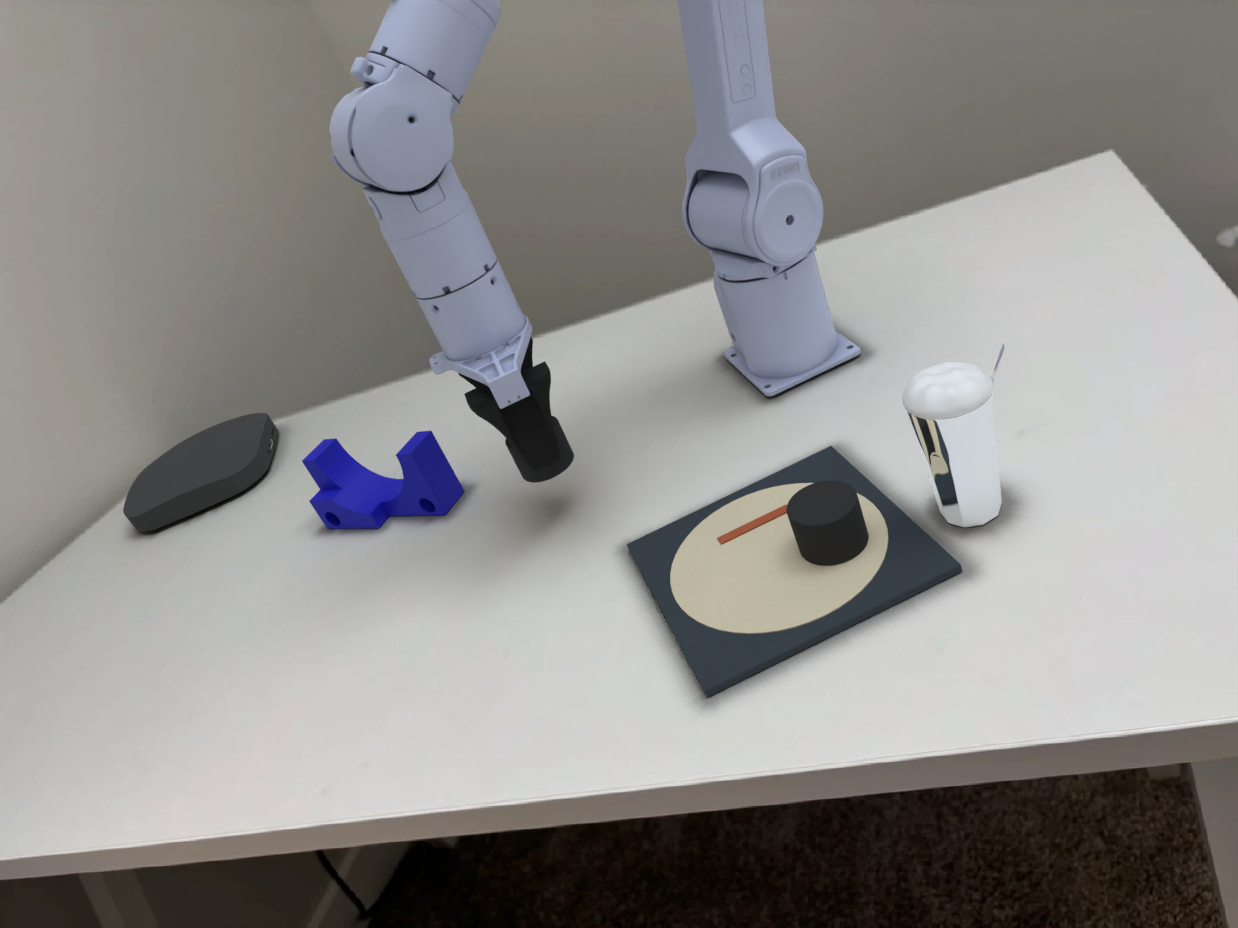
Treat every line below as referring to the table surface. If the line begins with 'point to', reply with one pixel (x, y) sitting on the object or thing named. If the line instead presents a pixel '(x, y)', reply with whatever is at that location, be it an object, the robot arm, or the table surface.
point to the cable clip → (381, 485)
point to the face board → (778, 573)
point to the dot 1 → (551, 469)
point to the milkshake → (957, 438)
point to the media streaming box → (201, 471)
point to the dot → (828, 522)
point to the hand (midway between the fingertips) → (540, 449)
